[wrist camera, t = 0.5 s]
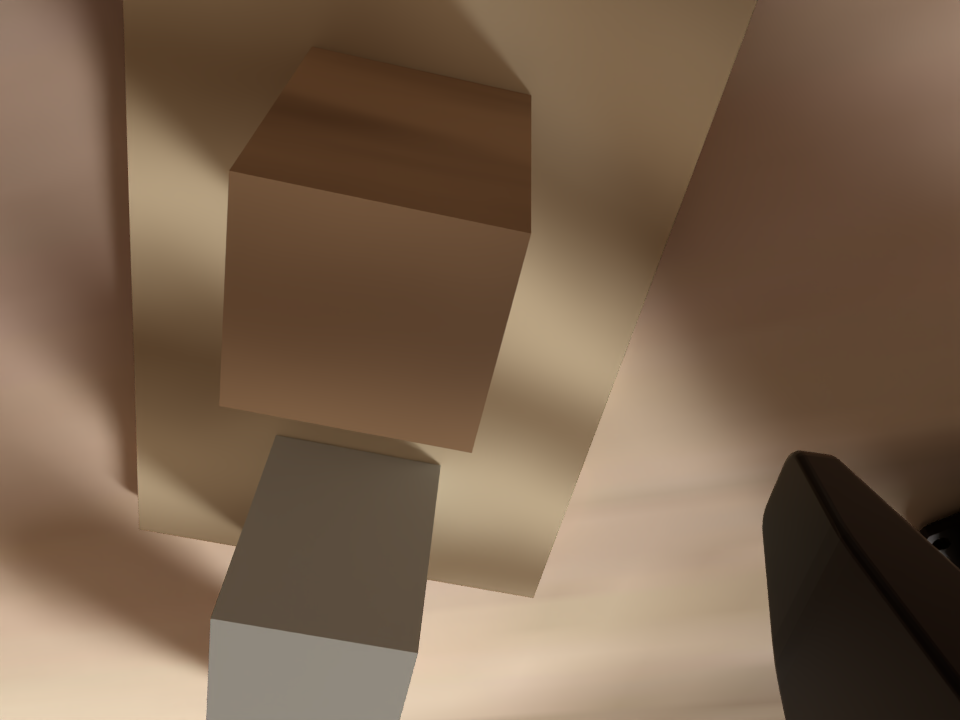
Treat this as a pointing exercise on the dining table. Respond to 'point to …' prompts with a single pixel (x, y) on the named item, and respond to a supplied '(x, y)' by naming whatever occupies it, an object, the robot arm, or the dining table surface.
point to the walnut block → (375, 250)
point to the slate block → (324, 588)
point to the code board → (545, 272)
